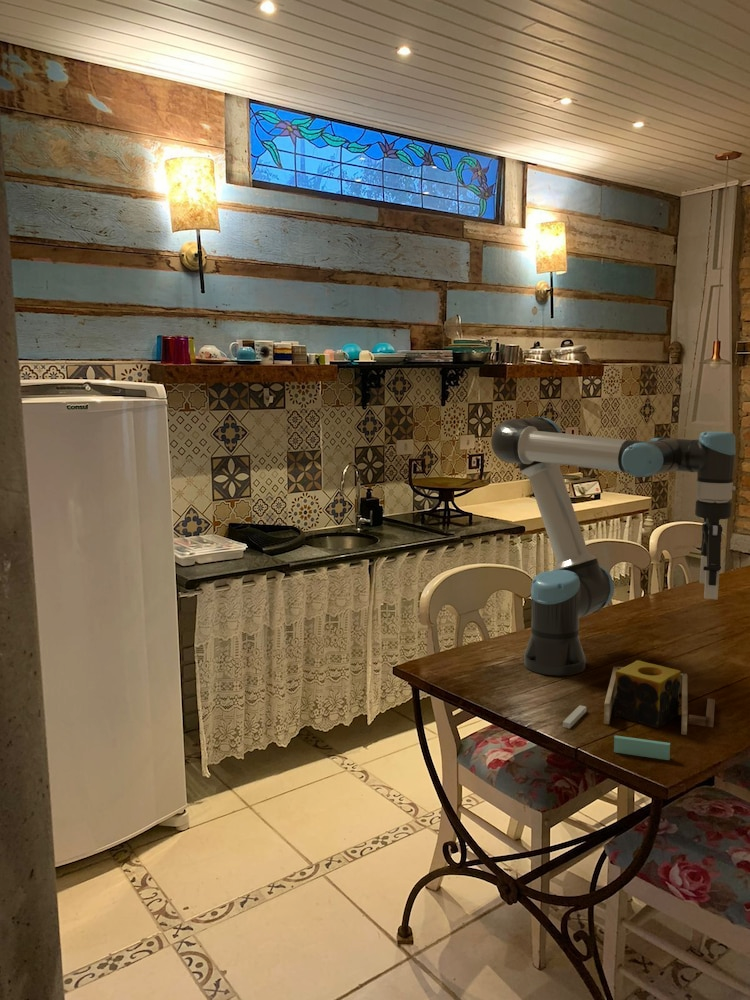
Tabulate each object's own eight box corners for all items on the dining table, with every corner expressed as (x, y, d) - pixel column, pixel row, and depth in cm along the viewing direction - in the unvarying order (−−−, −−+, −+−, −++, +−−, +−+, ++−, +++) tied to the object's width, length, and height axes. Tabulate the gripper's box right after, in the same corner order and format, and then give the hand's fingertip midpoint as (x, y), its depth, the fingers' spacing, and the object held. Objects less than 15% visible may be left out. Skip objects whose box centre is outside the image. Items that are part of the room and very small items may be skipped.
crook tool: (688, 724, 162) (688, 717, 161) (691, 702, 172) (691, 696, 172) (713, 727, 160) (713, 721, 159) (714, 706, 170) (715, 699, 170)
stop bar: (613, 752, 150) (614, 737, 149) (614, 750, 151) (614, 735, 150) (669, 760, 146) (670, 745, 146) (669, 757, 147) (670, 742, 146)
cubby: (604, 723, 162) (604, 703, 162) (613, 684, 183) (613, 666, 183) (686, 734, 156) (687, 713, 156) (686, 692, 178) (687, 673, 177)
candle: (612, 715, 166) (613, 671, 165) (635, 702, 173) (636, 658, 172) (658, 729, 159) (659, 683, 158) (680, 714, 166) (681, 669, 165)
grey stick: (562, 728, 161) (562, 721, 161) (579, 711, 169) (579, 705, 169) (569, 730, 160) (569, 723, 160) (586, 713, 169) (586, 706, 168)
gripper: (738, 509, 164) (732, 607, 167) (726, 492, 187) (720, 578, 191) (700, 508, 166) (694, 604, 170) (692, 491, 190) (687, 576, 193)
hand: (708, 590), depth 180 cm, fingers open, 13 cm apart
